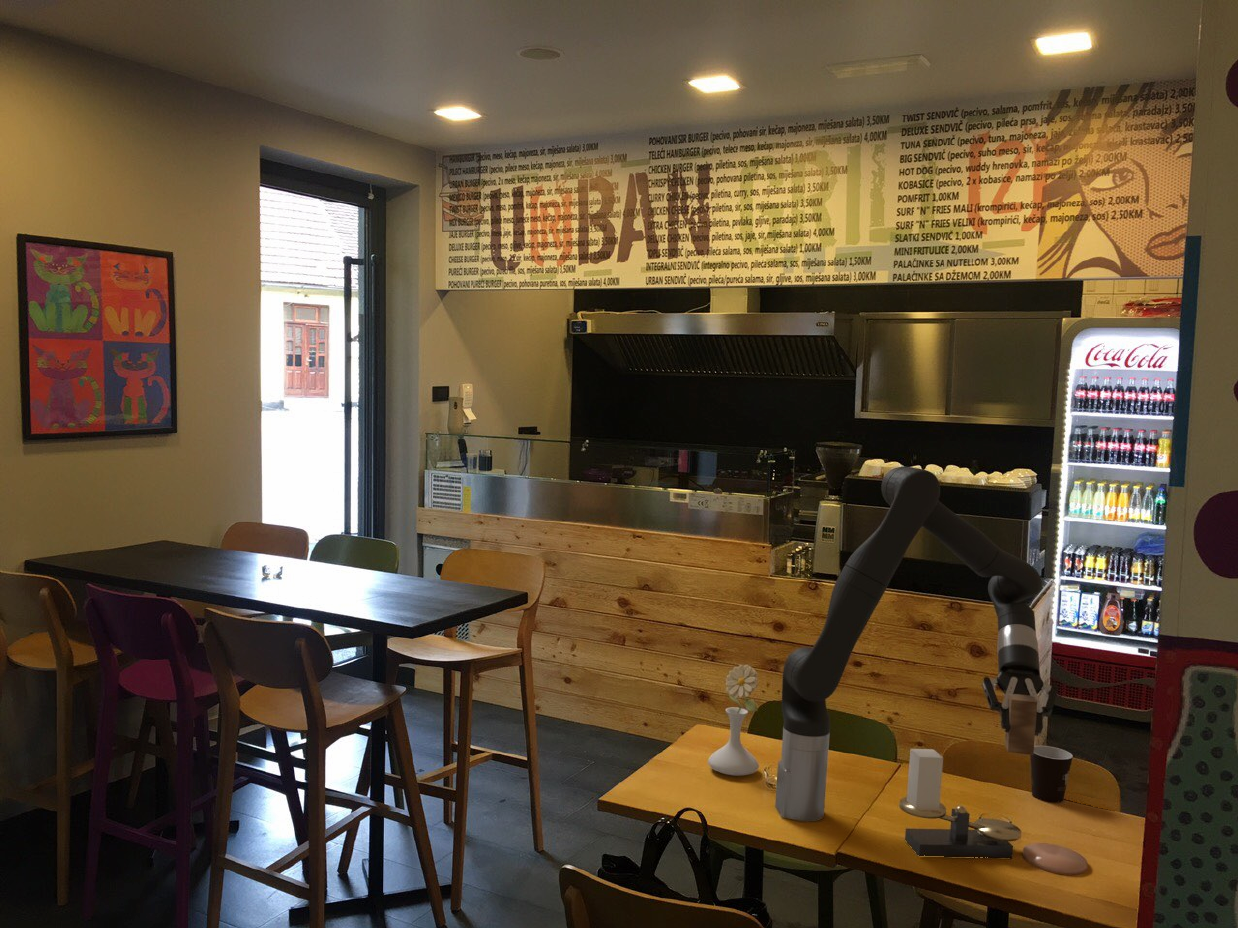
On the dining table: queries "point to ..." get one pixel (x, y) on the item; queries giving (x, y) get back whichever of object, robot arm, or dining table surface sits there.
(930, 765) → the pale block
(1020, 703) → the walnut block
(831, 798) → the dining table surface
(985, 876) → the dining table surface
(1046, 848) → the saucer
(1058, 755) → the coffee mug
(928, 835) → the balance
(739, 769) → the flower in vase
